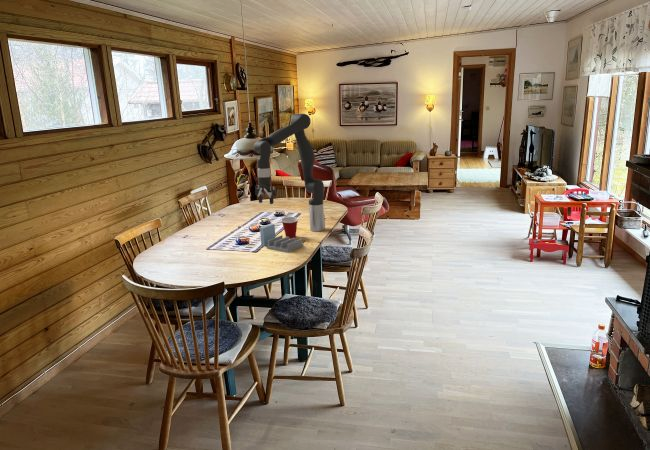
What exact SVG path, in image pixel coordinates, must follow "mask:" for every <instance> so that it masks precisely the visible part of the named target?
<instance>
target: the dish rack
mask: <svg viewBox="0 0 650 450" xmlns="http://www.w3.org/2000/svg"><path fill="white" fill-rule="evenodd" d="M275 237H276V238H273V239H270V240H268V245H266V249H268V250H272V251H278V252H283V253H290V252H293V251H295V250H298V249H300V248H301V247H304V243H303V239H302V238H299V239H296V237H295V238H292V239H289V237H286V236H285V237H283V235H279V236H275Z"/></svg>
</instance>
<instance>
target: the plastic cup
mask: <svg viewBox="0 0 650 450" xmlns="http://www.w3.org/2000/svg"><path fill="white" fill-rule="evenodd" d="M280 221H281V223H282V226H283V230H284V234H285V237H289V239H292V238H295V239H296V237H297V230H298V229H297V228H298V221H299V218H298V217H296V216H287V217H286V216H285V217H283V218H281V219H280Z"/></svg>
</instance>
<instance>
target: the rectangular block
mask: <svg viewBox="0 0 650 450" xmlns="http://www.w3.org/2000/svg"><path fill="white" fill-rule="evenodd" d="M275 228H276V227H275V224H274V223H268V224H267V225H263V226H261V227H259V231H260V232H259V233H260V245H261V246H263V247H267V246H268V240H270V239H273V238H276V237H277V236H276V229H275Z"/></svg>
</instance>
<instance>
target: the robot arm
mask: <svg viewBox="0 0 650 450" xmlns="http://www.w3.org/2000/svg"><path fill="white" fill-rule="evenodd" d="M311 121H312V120H311V118H310V116H309V114H306V113H294V114H292V116H291V117H290V124H289V125H287V126H284V127H283V126H282V127H281V128H279V129H277V130H275V131H274V132H272V133H270V134H268V135H267V136H265V137H263V138H260V139H259V140H256V141H255V143H254V144H253V150H254V152H256V153H257V154H260V155H259V158H257V161H256V163H257V164H256V165H257V173H256V174H257V183H258V184H257V185H255V186H254V193H255V194H254V195H255V196H257V197H258V203H259V204H262V203H263V194H266V195H267V196H268V197H269V204H270V205H272V204H274V197H276V196H277V193H276V192H277V191H276V186H272V185H271V184H272V174H271V167H270V163H271V162H270V159H271V154H272V147H276V146H278V145H279V144H280V143H283V141H285V140H287V139H289V138H290V137H291V136H293V135H294V138H295V141H296V145H297V149H298V155H299V158H300V163H301V167H302V172H303V173H302V174H303V180H304V181H303V182H304V187H305V190H306V192H308V193H309V194H312V195H313V197H312V198H310V199H309V200H308V211H309V213H308V214H309V228H310V231H311V232H322V231H324V230H325V229H326V219H325V218H326V216H325V212H324V199H325V185H324V182H323V180H321V179H318V178H317V179H316V178H314V173H313V168H314V166H315V162H316V155H315V151H314V148H313V145H312V144H311V142H310V140H309V139H308V138H307V136H306V133H305V130H306V129H308V128H309V127H310V125H311Z"/></svg>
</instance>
